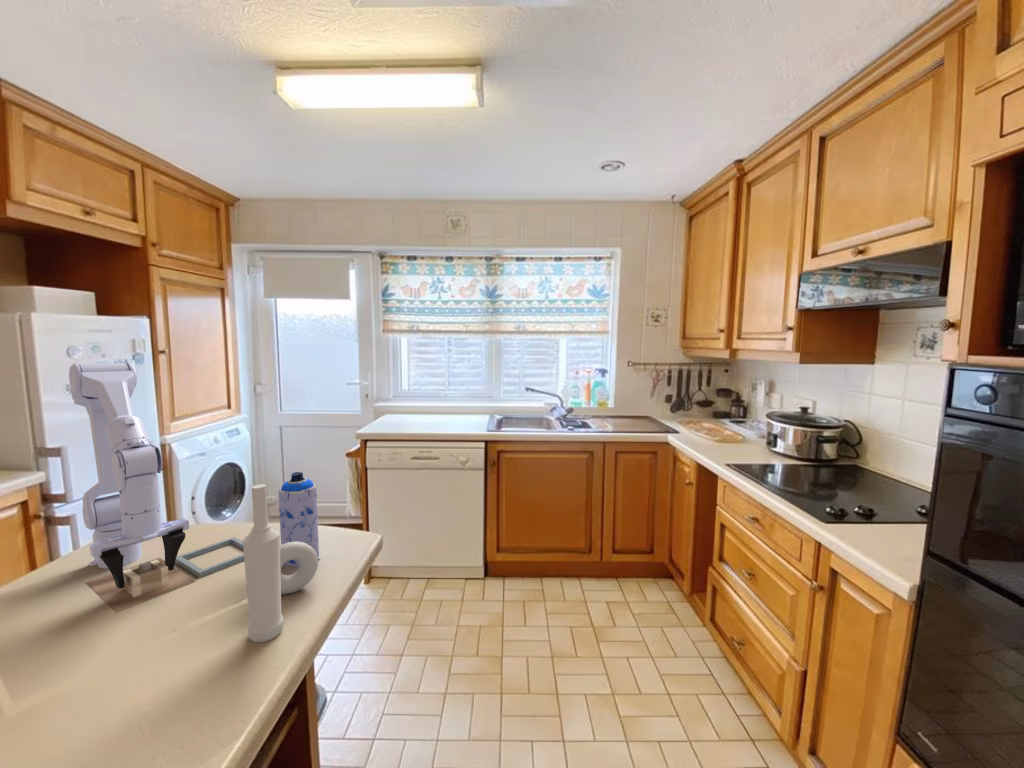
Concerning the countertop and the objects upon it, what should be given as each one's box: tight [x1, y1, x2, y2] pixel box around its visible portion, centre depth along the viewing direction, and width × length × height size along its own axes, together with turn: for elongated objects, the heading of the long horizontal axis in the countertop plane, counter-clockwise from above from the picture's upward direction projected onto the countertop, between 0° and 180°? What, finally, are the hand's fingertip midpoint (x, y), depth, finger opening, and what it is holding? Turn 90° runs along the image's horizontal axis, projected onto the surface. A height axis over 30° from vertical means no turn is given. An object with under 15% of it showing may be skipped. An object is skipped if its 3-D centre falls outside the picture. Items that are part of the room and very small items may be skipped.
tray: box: [175, 536, 245, 579], centre depth 95 cm, size 12×12×2 cm
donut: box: [280, 541, 319, 595], centre depth 83 cm, size 10×4×10 cm, turn 127°
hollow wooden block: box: [123, 559, 169, 597], centre depth 83 cm, size 5×5×4 cm
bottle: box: [242, 483, 284, 643], centre depth 70 cm, size 5×5×25 cm
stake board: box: [84, 557, 197, 613], centre depth 85 cm, size 18×12×6 cm, turn 57°
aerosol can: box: [278, 471, 320, 569], centre depth 95 cm, size 8×8×20 cm
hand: (146, 577), depth 83 cm, fingers open, 7 cm apart
